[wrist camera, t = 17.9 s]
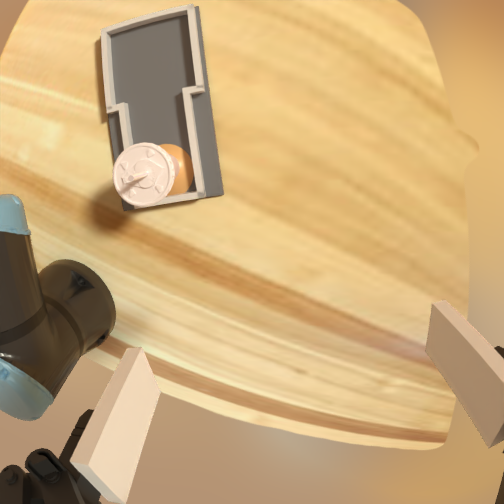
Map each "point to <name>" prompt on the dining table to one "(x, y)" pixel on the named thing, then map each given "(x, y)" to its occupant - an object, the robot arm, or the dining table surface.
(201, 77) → the keyhole plate
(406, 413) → the dining table surface
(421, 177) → the dining table surface
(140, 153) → the smoothie
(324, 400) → the dining table surface
